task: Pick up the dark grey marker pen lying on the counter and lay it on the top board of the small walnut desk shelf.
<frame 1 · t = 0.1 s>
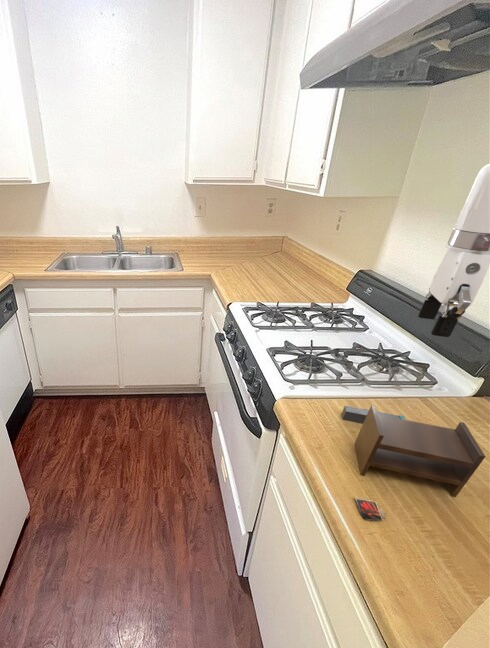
hand: (432, 326, 74), 25 cm above the countertop, tool pointing down, fingers open, 9 cm apart
matchbox: (369, 511, 64), on the countertop
marker pen: (368, 421, 86), on the countertop
desk shelf: (400, 468, 73), on the countertop
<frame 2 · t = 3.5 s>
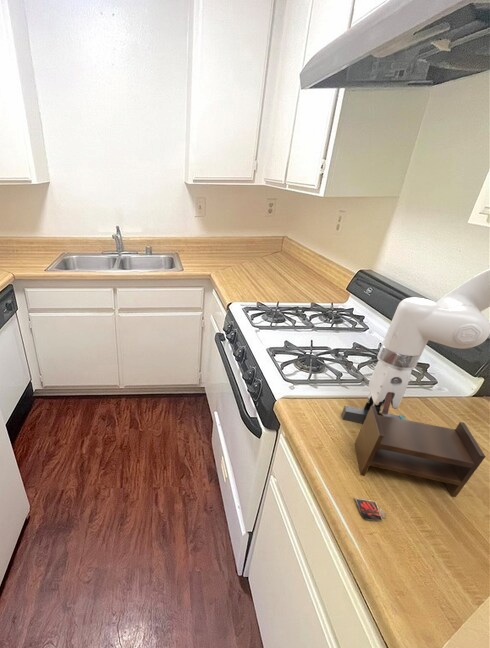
hand: (369, 420, 86), 0 cm above the countertop, tool pointing down, fingers closed on marker pen, 2 cm apart
marker pen: (368, 421, 86), on the countertop, touching gripper
everything else where it was.
when the fingers open (9 cm above the countertop, at t = 8.7 s): marker pen stays where it is, resting on desk shelf.
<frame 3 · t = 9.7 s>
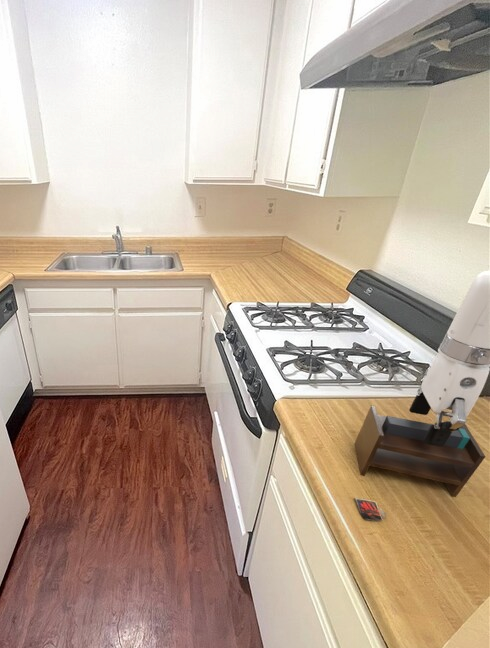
hand: (424, 427, 67), 11 cm above the countertop, tool pointing down, fingers open, 9 cm apart
marker pen: (418, 436, 68), point 9 cm above the countertop, touching desk shelf
everything else where it was.
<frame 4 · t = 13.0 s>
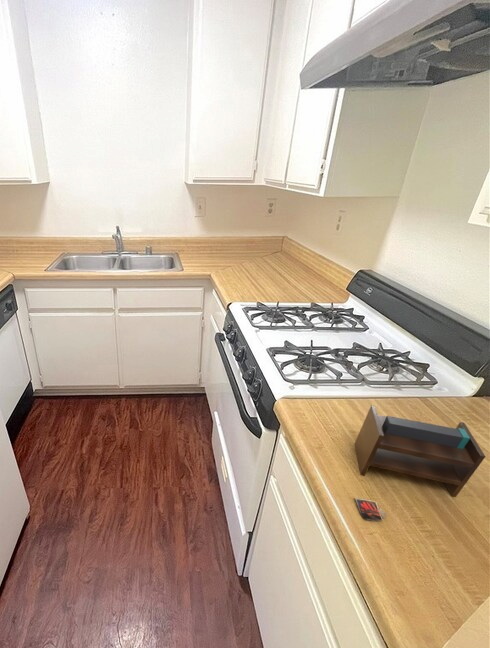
nothing on the countertop moved.
at the end: marker pen inside the target area on the desk shelf (0.1 cm from its centre), point 9.0 cm above the desk shelf's base; marker pen tilted 0°; the gripper is holding nothing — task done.
